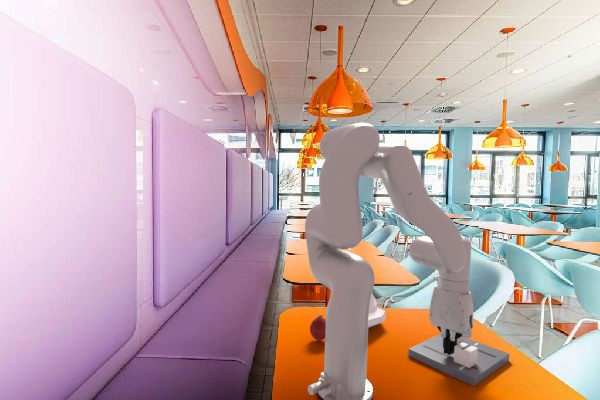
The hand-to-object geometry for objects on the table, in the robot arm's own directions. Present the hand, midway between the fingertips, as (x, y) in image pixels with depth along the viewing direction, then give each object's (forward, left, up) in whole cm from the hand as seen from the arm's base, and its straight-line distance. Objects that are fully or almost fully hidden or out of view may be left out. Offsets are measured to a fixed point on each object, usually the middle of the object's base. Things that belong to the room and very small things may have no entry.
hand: (449, 352), depth 96 cm
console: (+5, 0, -3) cm, 6 cm away
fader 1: (+10, +4, -1) cm, 11 cm away
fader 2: (0, -4, -1) cm, 4 cm away
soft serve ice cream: (0, +29, -3) cm, 29 cm away
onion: (-19, +30, -3) cm, 36 cm away
